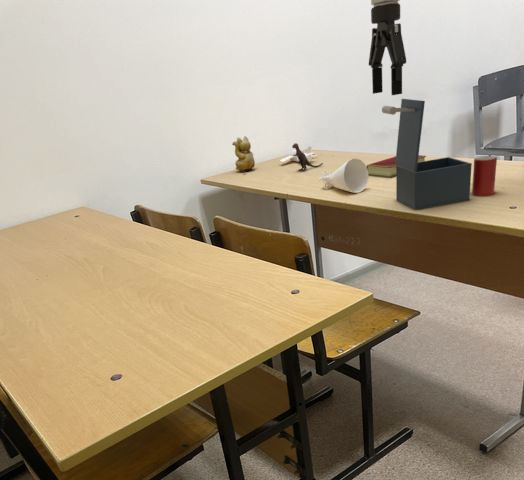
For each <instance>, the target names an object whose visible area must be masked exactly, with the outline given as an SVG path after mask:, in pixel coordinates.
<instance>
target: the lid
mask: <svg viewBox="0 0 524 480" xmlns="http://www.w3.org/2000/svg"><path fill="white" fill-rule="evenodd" d="M425 103H426V101H425V100H422V99H421V100H419V99H411V98H401V101H400V107H396V106H390V105H384V106H382V108H381V112H382V114H386V115H387V114H388V115H396V114H397V113H399V120H398V130H397V142H396V153H395V156H396V162H395V164H396V165H398V166H401V167H404V168H406V169H409V170H412V171H417V165H418V156H419V155H420V147H421V139H422V137H421V136H422V129H423V122H424V121H423V120H424V112H425Z"/></svg>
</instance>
